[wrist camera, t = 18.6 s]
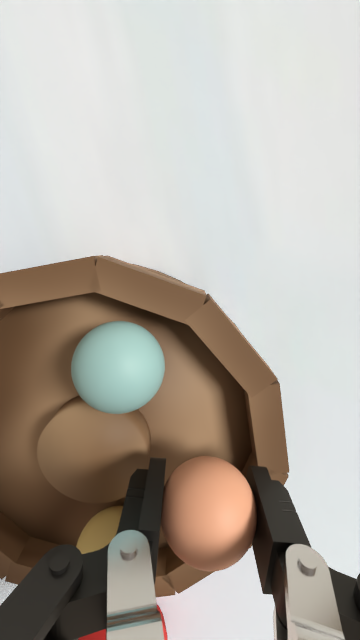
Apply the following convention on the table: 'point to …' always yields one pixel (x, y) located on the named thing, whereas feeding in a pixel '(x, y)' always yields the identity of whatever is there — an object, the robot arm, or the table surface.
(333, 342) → the table surface
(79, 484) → the tray
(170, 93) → the table surface
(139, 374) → the bead teal
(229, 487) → the bead terracotta
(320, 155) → the table surface
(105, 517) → the bead mustard
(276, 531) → the robot arm
